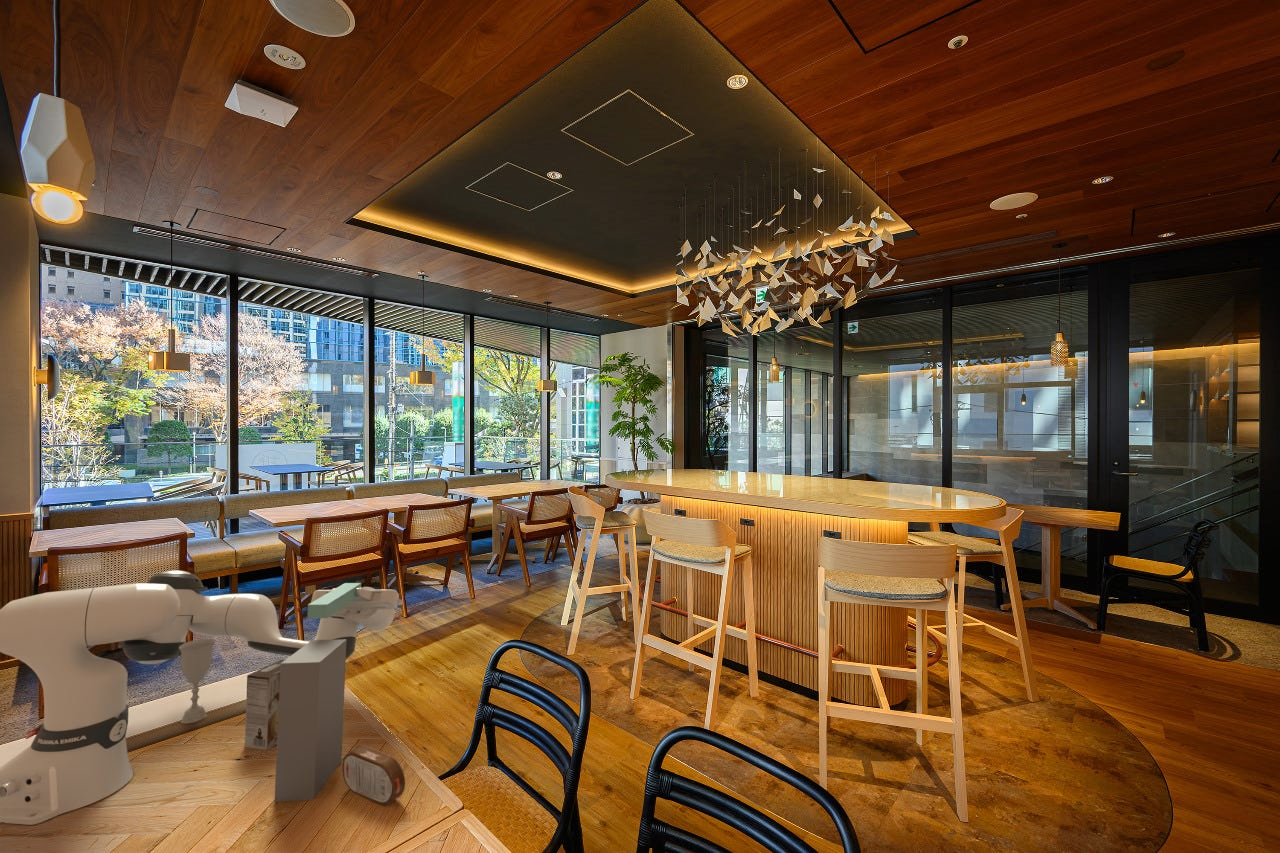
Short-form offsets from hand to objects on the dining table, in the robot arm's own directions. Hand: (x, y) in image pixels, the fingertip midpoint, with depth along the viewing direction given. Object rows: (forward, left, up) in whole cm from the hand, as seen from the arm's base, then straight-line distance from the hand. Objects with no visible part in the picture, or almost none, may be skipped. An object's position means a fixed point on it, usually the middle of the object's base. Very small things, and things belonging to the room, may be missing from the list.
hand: (346, 591), depth 128 cm
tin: (+18, -29, -32) cm, 46 cm away
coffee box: (-12, -6, -32) cm, 35 cm away
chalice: (-36, +5, -32) cm, 49 cm away
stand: (+4, -23, -32) cm, 39 cm away
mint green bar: (0, -5, -2) cm, 6 cm away
